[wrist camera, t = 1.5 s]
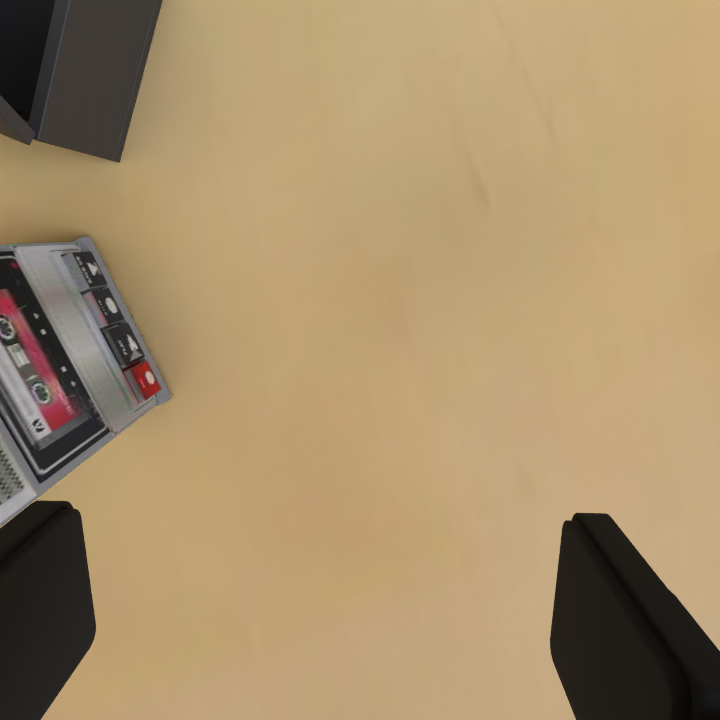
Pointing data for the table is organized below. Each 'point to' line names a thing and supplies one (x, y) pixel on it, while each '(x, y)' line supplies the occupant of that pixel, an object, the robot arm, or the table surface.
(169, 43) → the table surface
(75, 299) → the ribbed grey cuboid
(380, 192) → the table surface
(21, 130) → the lid
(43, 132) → the open dark grey box
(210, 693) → the table surface
